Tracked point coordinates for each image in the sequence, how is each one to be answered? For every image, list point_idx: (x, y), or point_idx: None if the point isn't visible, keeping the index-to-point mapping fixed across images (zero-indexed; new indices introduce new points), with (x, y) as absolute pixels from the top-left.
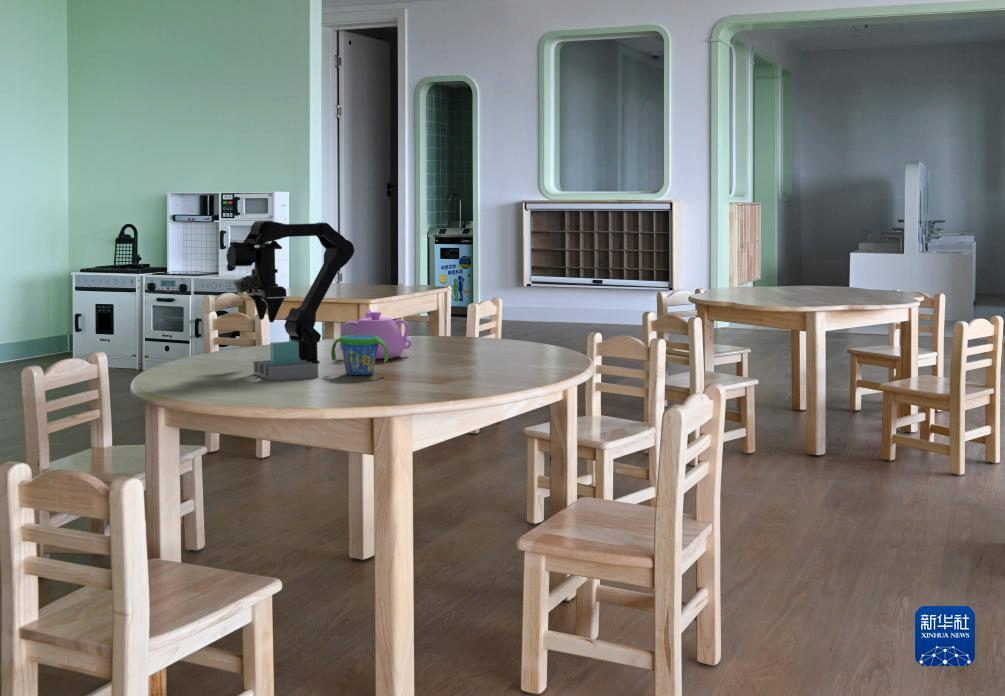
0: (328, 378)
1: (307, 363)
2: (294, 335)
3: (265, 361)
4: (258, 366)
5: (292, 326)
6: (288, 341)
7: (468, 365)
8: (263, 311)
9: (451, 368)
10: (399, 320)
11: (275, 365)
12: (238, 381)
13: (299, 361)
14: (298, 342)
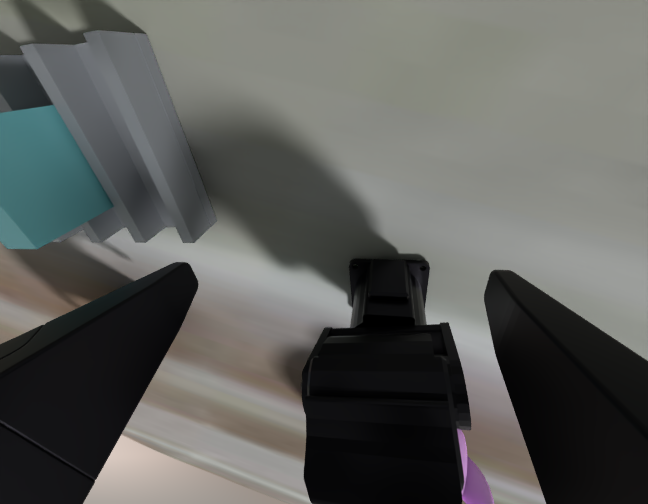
0: (73, 237)
1: (85, 227)
2: (370, 335)
3: (115, 99)
4: (48, 44)
5: (343, 365)
6: (12, 220)
7: (229, 431)
8: (519, 378)
9: (202, 410)
10: None
11: (3, 111)
12: None
13: (124, 220)
14: (9, 247)
